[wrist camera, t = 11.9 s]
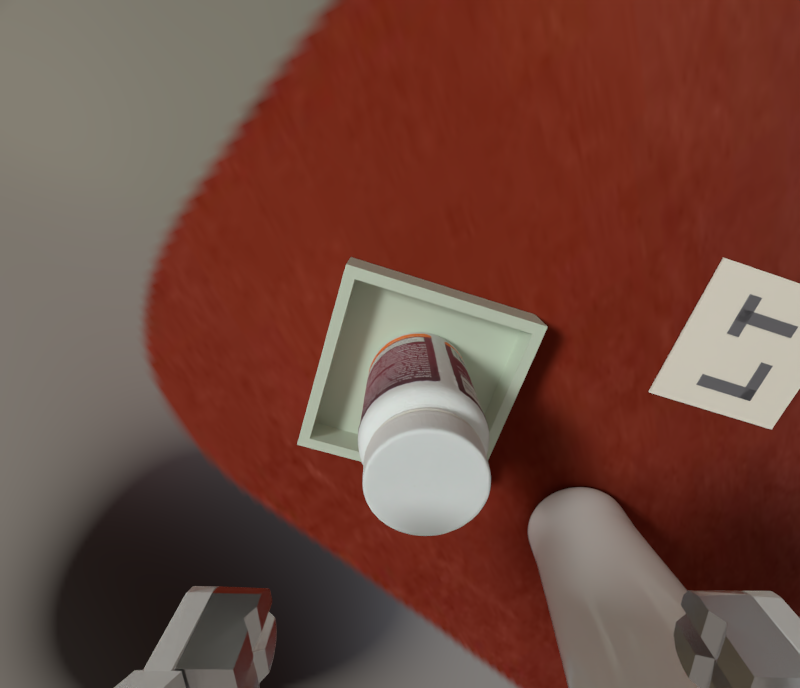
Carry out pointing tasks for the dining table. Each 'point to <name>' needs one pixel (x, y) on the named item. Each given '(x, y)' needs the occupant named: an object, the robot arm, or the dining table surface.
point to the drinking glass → (606, 594)
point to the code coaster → (738, 347)
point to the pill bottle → (423, 437)
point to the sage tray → (404, 313)
